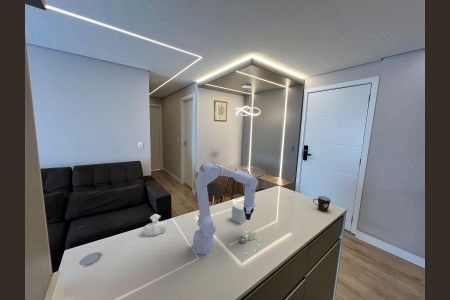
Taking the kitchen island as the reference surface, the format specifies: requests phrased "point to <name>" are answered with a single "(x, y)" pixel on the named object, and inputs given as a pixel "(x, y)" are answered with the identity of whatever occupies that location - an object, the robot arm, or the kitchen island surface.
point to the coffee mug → (323, 203)
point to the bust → (155, 226)
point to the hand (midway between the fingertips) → (247, 219)
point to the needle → (250, 236)
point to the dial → (257, 241)
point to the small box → (238, 213)
